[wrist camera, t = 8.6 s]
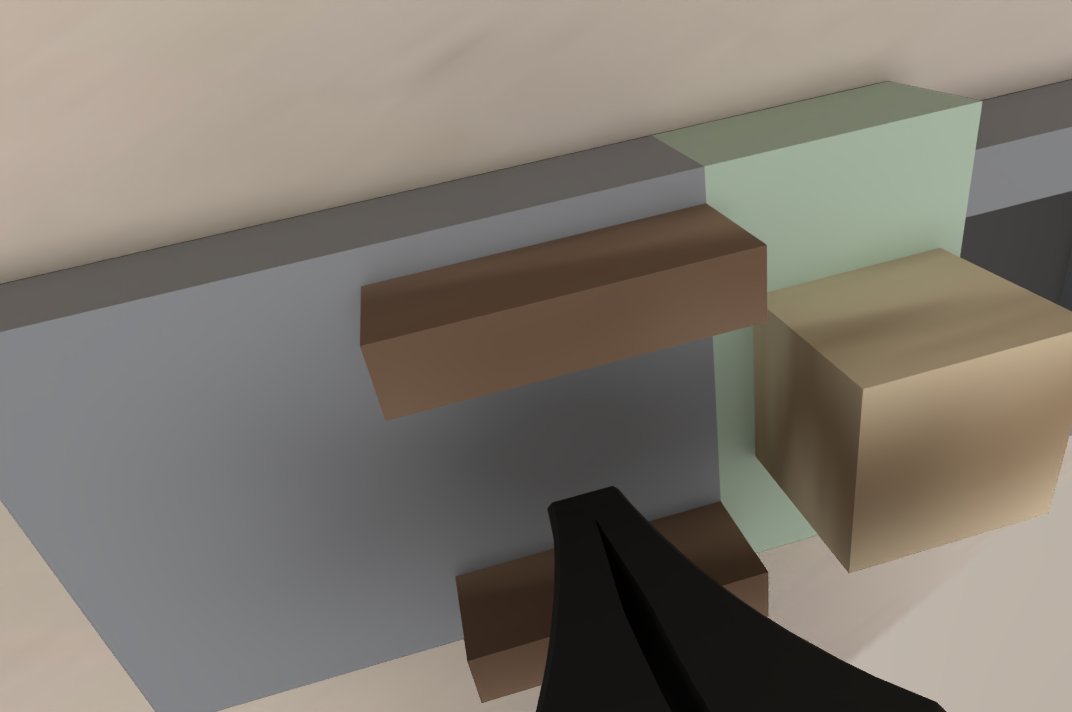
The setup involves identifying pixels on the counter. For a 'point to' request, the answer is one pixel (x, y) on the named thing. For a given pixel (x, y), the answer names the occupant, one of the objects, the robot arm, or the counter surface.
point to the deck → (464, 427)
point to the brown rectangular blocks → (557, 349)
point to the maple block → (912, 403)
